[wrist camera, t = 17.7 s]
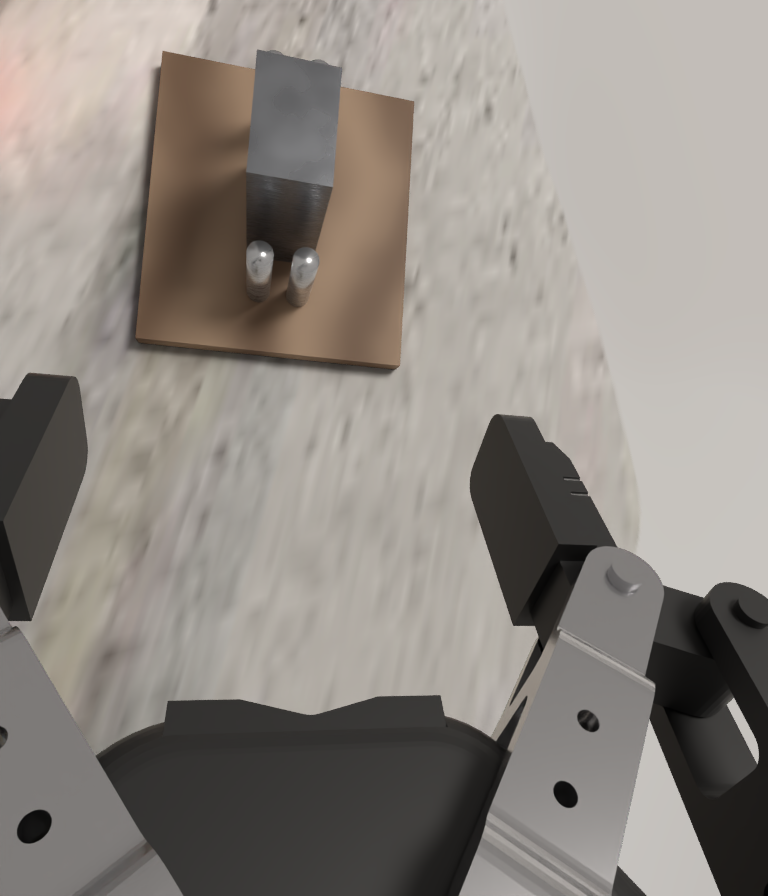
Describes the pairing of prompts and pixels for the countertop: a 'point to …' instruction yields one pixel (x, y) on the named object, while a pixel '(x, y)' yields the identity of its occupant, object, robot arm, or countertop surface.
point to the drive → (291, 152)
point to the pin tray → (253, 269)
